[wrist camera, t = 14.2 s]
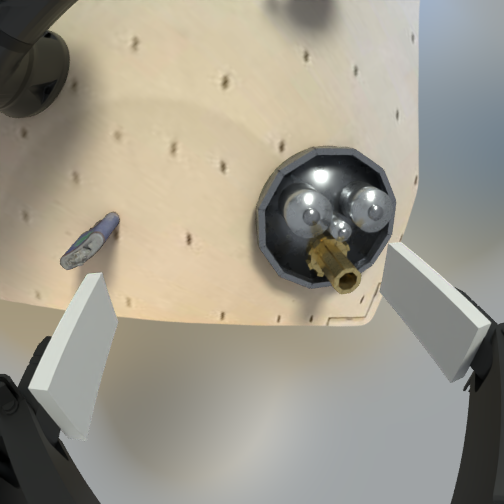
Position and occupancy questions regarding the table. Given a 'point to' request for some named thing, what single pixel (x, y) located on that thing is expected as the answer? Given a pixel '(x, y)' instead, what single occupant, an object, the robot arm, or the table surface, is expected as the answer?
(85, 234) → the flask
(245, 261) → the table surface
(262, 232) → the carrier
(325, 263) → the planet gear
